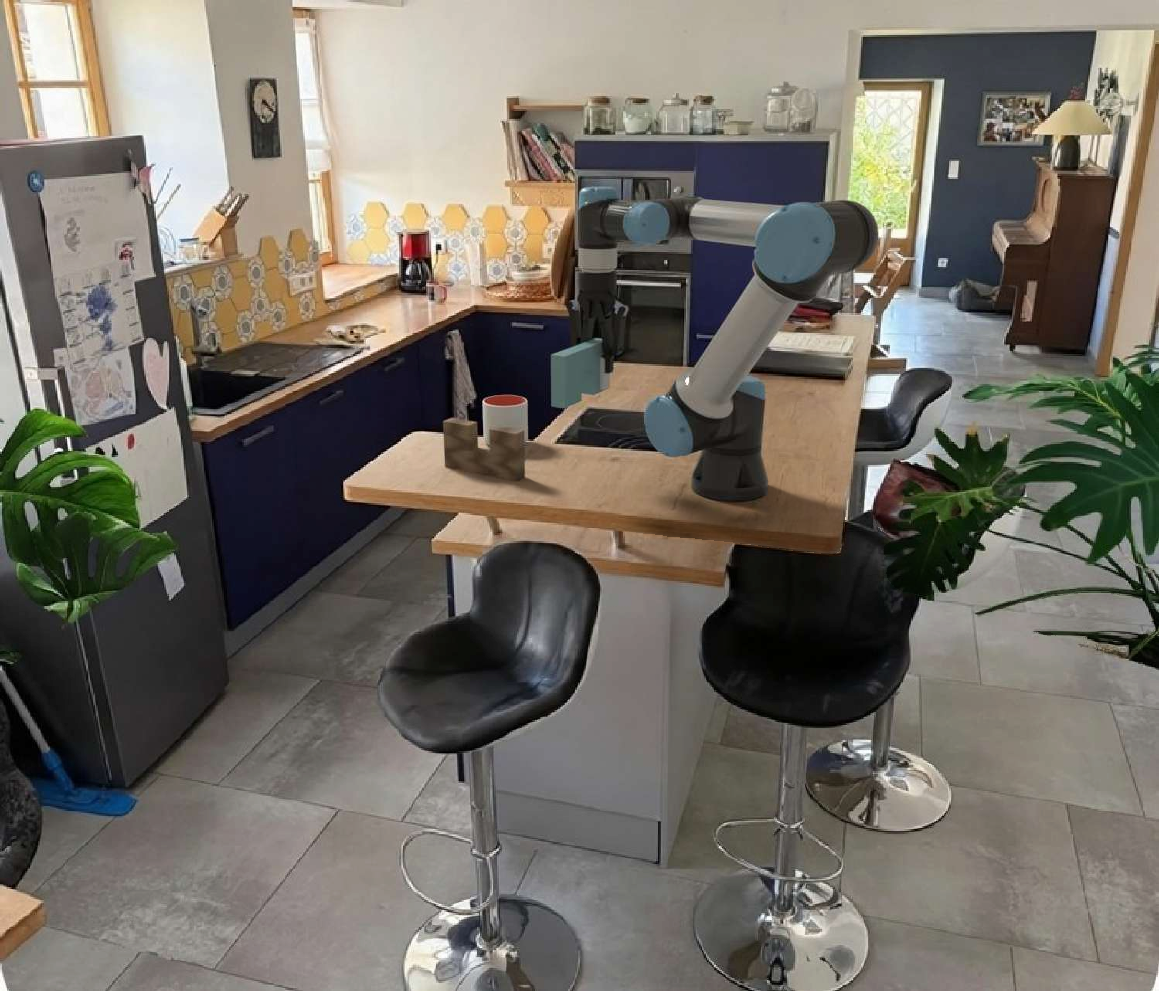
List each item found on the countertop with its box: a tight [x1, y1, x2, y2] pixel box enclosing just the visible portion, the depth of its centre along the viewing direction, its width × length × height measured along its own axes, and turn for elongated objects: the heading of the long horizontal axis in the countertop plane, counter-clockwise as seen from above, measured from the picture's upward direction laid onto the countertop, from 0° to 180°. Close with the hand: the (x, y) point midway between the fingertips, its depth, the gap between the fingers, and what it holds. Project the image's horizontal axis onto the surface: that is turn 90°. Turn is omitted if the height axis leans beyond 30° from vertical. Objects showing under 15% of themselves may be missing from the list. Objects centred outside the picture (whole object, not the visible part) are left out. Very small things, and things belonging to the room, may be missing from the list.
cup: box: [482, 394, 529, 447], centre depth 230 cm, size 10×10×10 cm
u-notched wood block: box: [442, 417, 526, 482], centre depth 211 cm, size 18×3×10 cm, turn 61°
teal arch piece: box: [550, 337, 609, 409], centre depth 200 cm, size 18×3×10 cm, turn 151°
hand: (596, 387), depth 206 cm, fingers closed on teal arch piece, 3 cm apart
